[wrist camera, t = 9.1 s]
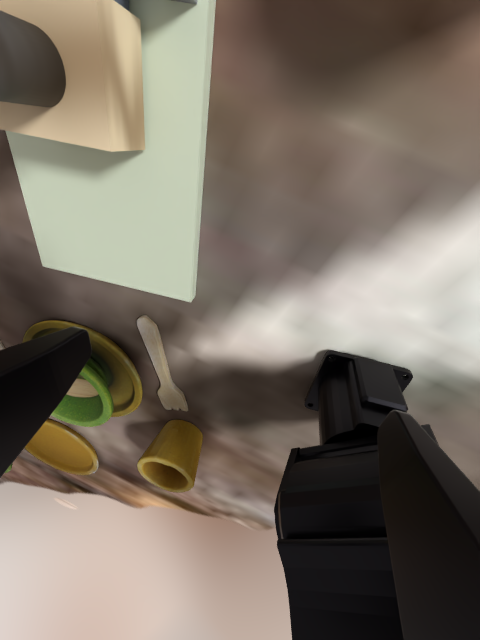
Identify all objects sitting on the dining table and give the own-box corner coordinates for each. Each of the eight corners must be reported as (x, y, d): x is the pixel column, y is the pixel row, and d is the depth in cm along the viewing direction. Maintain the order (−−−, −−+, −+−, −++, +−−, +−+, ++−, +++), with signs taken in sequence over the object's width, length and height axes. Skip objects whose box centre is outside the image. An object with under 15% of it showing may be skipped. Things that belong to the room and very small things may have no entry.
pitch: (195, 296, 21) (164, 338, 17) (52, 261, 22) (-14, 292, 18) (237, -304, 9) (161, -788, 4) (-94, -322, 10) (-445, -729, 5)
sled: (145, 150, 15) (14, 156, 8) (45, 130, 16) (-154, 121, 9) (138, -32, 11) (-105, -283, 5) (8, -51, 12) (-382, -302, 5)
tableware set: (168, 305, 23) (127, 353, 18) (227, 485, 37) (214, 541, 32) (-140, 318, 33) (-223, 351, 28) (-1, 454, 47) (-39, 493, 42)
